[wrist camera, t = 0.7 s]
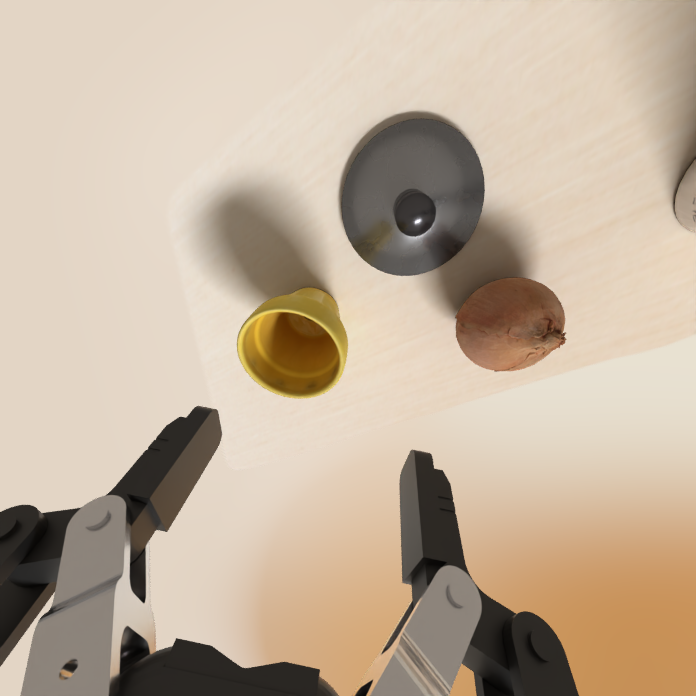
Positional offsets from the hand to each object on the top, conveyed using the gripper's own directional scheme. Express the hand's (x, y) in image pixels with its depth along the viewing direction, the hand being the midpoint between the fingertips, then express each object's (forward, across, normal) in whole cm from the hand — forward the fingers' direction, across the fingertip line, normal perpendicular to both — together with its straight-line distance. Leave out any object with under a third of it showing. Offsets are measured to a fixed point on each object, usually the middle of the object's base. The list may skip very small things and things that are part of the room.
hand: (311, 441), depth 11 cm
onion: (+23, -15, +2) cm, 28 cm away
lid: (+23, -4, -6) cm, 24 cm away
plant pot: (+23, +5, +6) cm, 24 cm away
